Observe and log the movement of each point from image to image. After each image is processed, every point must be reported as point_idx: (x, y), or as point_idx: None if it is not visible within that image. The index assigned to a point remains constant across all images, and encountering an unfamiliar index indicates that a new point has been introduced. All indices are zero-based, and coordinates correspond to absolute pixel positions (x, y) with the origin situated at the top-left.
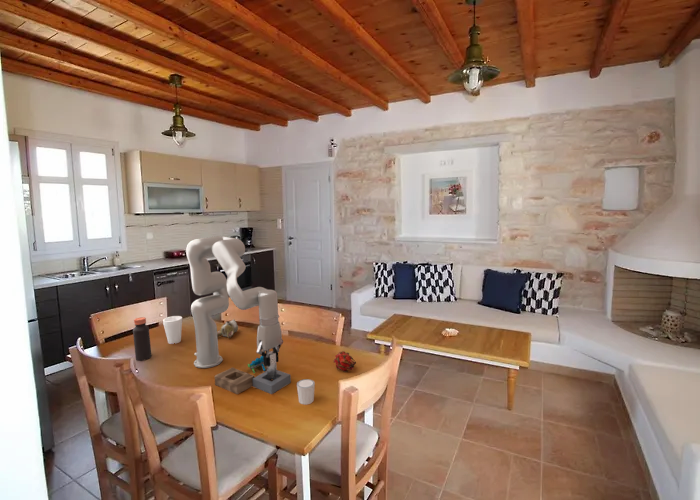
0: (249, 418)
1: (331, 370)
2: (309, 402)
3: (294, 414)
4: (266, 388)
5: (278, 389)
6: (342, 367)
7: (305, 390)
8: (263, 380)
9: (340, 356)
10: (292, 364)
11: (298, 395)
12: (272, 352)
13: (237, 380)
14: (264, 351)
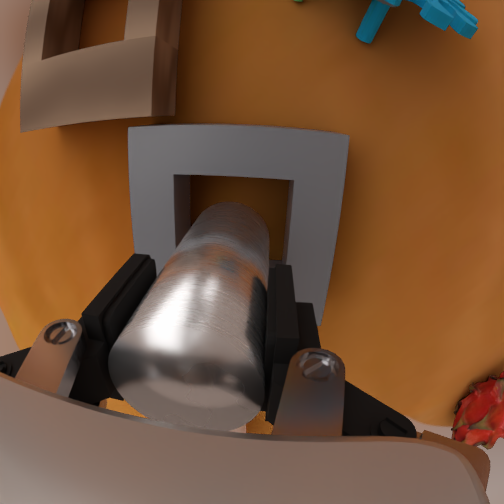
0: (24, 310)
1: (469, 366)
2: None
3: (134, 411)
4: None
5: None
6: (456, 421)
7: None
8: (154, 221)
9: (490, 432)
10: (499, 165)
11: None
12: (219, 394)
13: (50, 82)
14: (58, 387)
